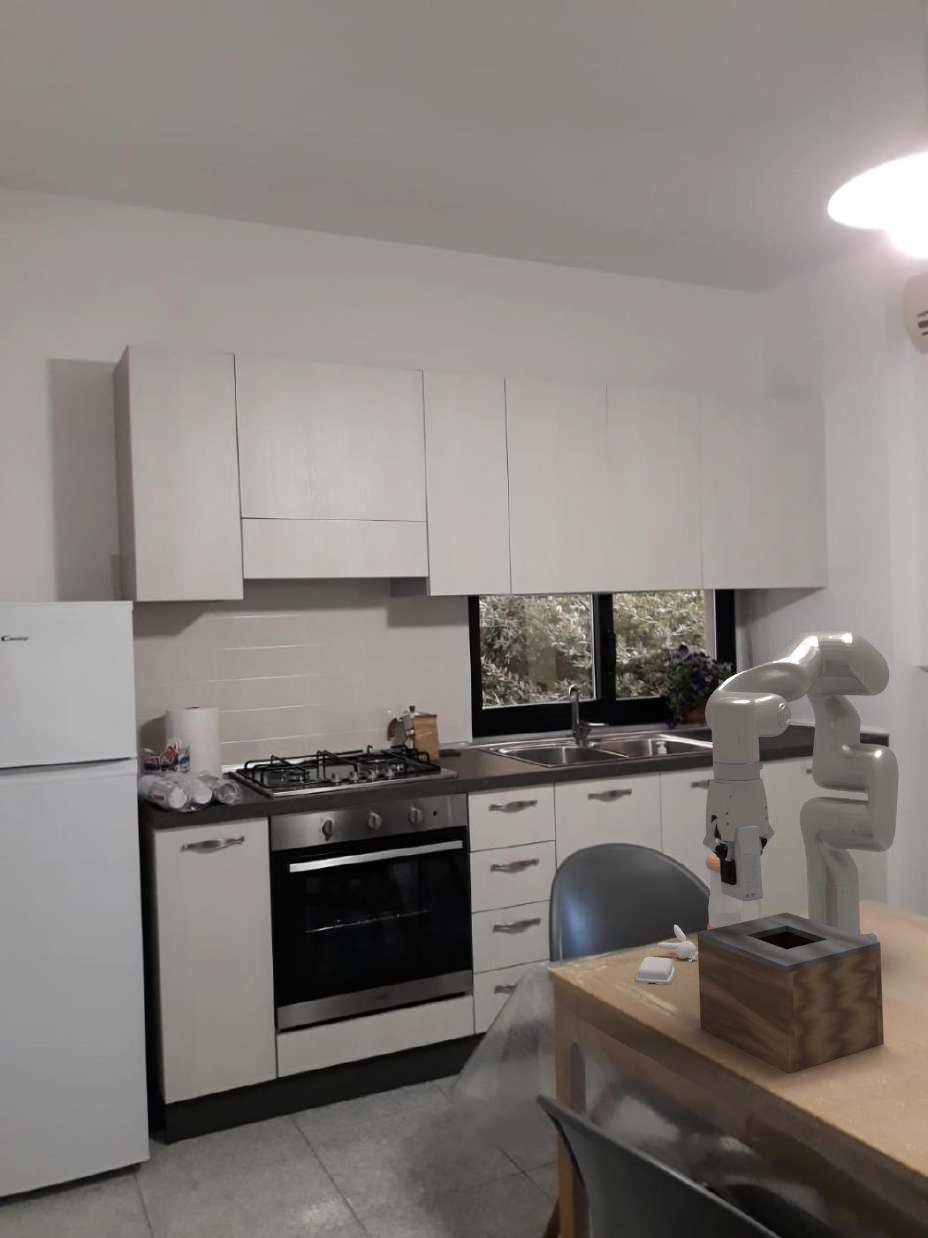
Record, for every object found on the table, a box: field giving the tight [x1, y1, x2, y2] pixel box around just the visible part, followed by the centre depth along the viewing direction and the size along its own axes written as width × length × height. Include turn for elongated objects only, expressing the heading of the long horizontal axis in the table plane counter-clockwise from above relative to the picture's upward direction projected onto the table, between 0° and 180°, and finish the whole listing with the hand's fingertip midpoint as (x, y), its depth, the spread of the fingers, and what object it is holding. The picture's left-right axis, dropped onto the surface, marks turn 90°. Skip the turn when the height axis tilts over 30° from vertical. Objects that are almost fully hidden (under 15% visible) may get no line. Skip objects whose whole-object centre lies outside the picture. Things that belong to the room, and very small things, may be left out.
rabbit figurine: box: [657, 924, 698, 963], centre depth 210 cm, size 6×4×8 cm
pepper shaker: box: [705, 852, 742, 930], centre depth 218 cm, size 7×7×19 cm
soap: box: [635, 956, 676, 986], centre depth 200 cm, size 9×7×3 cm
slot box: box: [696, 912, 885, 1074], centre depth 170 cm, size 20×20×16 cm
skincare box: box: [719, 826, 764, 902], centre depth 175 cm, size 6×4×12 cm
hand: (740, 880), depth 175 cm, fingers closed on skincare box, 4 cm apart
